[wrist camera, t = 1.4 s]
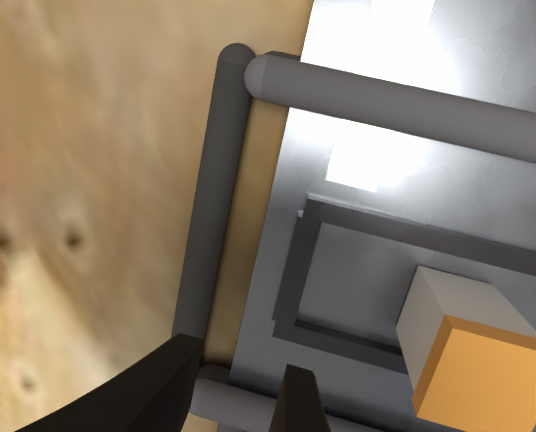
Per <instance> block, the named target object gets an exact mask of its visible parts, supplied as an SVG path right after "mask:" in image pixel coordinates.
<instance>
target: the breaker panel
mask: <svg viewBox="0 0 536 432" xmlns="http://www.w3.org/2000/svg"><path fill="white" fill-rule="evenodd" d="M301 62H306V63H311V64H315V65H320V66H324V67H329V68H333V69H338V70H343V71H347V72H352V73H356V74H361V75H365V76H370V77H375V78H379V79H384V80H388V81H393V82H397V83H402V84H407V85H411V86H416V87H420V88H425V89H429V90H434V91H439V92H443V93H448V94H452V95H457V96H461V97H466V98H471V99H475V100H480V101H484V102H489V103H494V104H498V105H503V106H507V107H512V108H516V109H521V110H526V111H530V112H535V113H536V0H314V4H313V8H312V12H311V17H310V21H309V26H308V30H307V35H306V39H305V43H304V48H303V52H302V57H301ZM418 265H419V266H423V267H427V268H431V269H434V270H438V271H442V272H446V273H450V274H454V275H458V276H462V277H465V278H469V279H473V280H477V281H481V282H485V283H489V284H493V285H494V286H495V287H496V288H497V289H498V290H499V291H500V292H501V293H502V295H503V296H504V297H505V298H506V299H507V300H508V301H509V302H510V303H511V304H512V305H513V307H514V308H515V309H516V310H517V311H518V312H519V313H520V314H521V315H522V316H523V317H524V319H525V320H526V321H527V322H528V323H529V324H530V325H531V326H532V327H533V328H534V329H535V331H536V163H531V162H527V161H523V160H518V159H514V158H510V157H505V156H501V155H496V154H492V153H488V152H483V151H479V150H475V149H470V148H466V147H462V146H457V145H453V144H449V143H444V142H440V141H435V140H431V139H427V138H422V137H418V136H414V135H409V134H405V133H401V132H396V131H392V130H388V129H383V128H379V127H374V126H370V125H366V124H361V123H357V122H353V121H348V120H344V119H340V118H335V117H331V116H327V115H322V114H318V113H313V112H309V111H305V110H300V109H296V108H292V107H290V110H289V114H288V119H287V123H286V128H285V132H284V136H283V141H282V145H281V150H280V154H279V159H278V163H277V167H276V172H275V176H274V181H273V185H272V190H271V194H270V198H269V203H268V207H267V212H266V216H265V221H264V225H263V230H262V234H261V238H260V243H259V247H258V252H257V256H256V261H255V265H254V269H253V274H252V278H251V283H250V287H249V292H248V296H247V300H246V305H245V309H244V314H243V318H242V323H241V327H240V331H239V336H238V340H237V345H236V349H235V354H234V358H233V362H232V367H231V371H230V376H229V380H228V385H229V386H232V387H236V388H239V389H243V390H246V391H249V392H253V393H256V394H259V395H263V396H266V397H269V398H273V399H276V400H277V398H278V395H279V391H280V387H281V384H282V380H283V377H284V373H285V369H286V366H287V364H290V365H294V366H297V367H301V368H304V369H308V370H311V371H313V373H314V375H315V376H316V381H317V386H318V390H319V394H320V398H321V401H322V405H323V408H324V411H325V414H327V415H330V416H333V417H337V418H340V419H344V420H347V421H350V422H354V423H357V424H360V425H364V426H367V427H371V428H374V429H377V430H381V431H384V432H466V431H463V430H459V429H456V428H453V427H449V426H446V425H442V424H439V423H435V422H432V421H429V420H425V419H422V418H418V417H416V413H415V410H414V406H413V402H412V396H413V394H414V390H413V387H412V383H411V380H410V376H409V373H408V370H407V366H406V363H405V359H404V356H403V352H402V349H401V346H400V342H399V339H398V335H397V332H396V326H397V323H398V320H399V317H400V315H401V312H402V309H403V306H404V304H405V301H406V298H407V295H408V292H409V290H410V287H411V284H412V281H413V278H414V276H415V273H416V270H417V267H418ZM217 432H249V431H245V430H242V429H239V428H236V427H232V426H229V425H226V424H222V423H219V424H218V429H217ZM532 432H536V424H535V426H534V428H533V430H532Z"/></svg>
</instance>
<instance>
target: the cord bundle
mask: <svg viewBox="0 0 536 432" xmlns="http://www.w3.org/2000/svg"><path fill="white" fill-rule="evenodd" d="M252 96H253V97H255V98H256V99H258V100H261V101H266V102H270V103H274V104H279V105H283V106H287V107H292V108H296V109H300V110H305V111H309V112H313V113H318V114H322V115H327V116H331V117H335V118H340V119H344V120H348V121H353V122H357V123H361V124H366V125H370V126H374V127H379V128H383V129H388V130H392V131H396V132H401V133H405V134H409V135H414V136H418V137H422V138H427V139H431V140H435V141H440V142H444V143H449V144H453V145H457V146H462V147H466V148H470V149H475V150H479V151H483V152H488V153H492V154H496V155H501V156H505V157H510V158H514V159H518V160H523V161H527V162H531V163H536V113H535V112H530V111H526V110H521V109H516V108H512V107H507V106H503V105H498V104H494V103H489V102H484V101H480V100H475V99H471V98H466V97H461V96H457V95H452V94H448V93H443V92H439V91H434V90H429V89H425V88H420V87H416V86H411V85H407V84H402V83H397V82H393V81H388V80H384V79H379V78H375V77H370V76H365V75H361V74H356V73H352V72H347V71H343V70H338V69H333V68H329V67H324V66H320V65H315V64H311V63H306V62H301V57H300V56H296V55H291V54H287V53H282V52H276V51H271V52H267V53H265V54H263V55H260V56H257V57H256V56H255V54H254V52H253V51H252V50H251V49H250V48H249V47H248V46H246V45H244V44H240V43H233V44H230V45H228V46H226V47H225V48H224V49H223V50H222V51H221V53H220V55H219V58H218V61H217V67H216V73H215V79H214V85H213V91H212V97H211V103H210V109H209V115H208V121H207V127H206V133H205V139H204V145H203V151H202V157H201V163H200V169H199V175H198V181H197V186H196V192H195V198H194V204H193V210H192V216H191V222H190V228H189V234H188V240H187V246H186V252H185V258H184V264H183V270H182V276H181V282H180V288H179V294H178V300H177V306H176V312H175V318H174V324H173V330H172V335H171V338H172V337H173V336H175V335H177V334H179V333H183V334H186V335H190V336H193V337H196V338H200V339H203V340H204V337H205V332H206V327H207V322H208V317H209V312H210V307H211V302H212V297H213V291H214V286H215V281H216V276H217V271H218V266H219V261H220V256H221V251H222V246H223V241H224V235H225V230H226V225H227V220H228V215H229V210H230V205H231V200H232V195H233V190H234V185H235V179H236V174H237V169H238V164H239V159H240V154H241V149H242V144H243V139H244V134H245V129H246V124H247V118H248V113H249V108H250V103H251V98H252ZM203 342H204V341H203ZM202 347H203V346H202ZM201 352H202V351H201ZM200 358H201V356H200ZM199 363H200V361H199ZM198 368H199V366H198Z"/></svg>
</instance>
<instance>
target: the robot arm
mask: <svg viewBox="0 0 536 432" xmlns="http://www.w3.org/2000/svg"><path fill="white" fill-rule="evenodd" d="M203 341H204V340H203V339H200V338H196V337H193V336H190V335H186V334H183V333H179V334H177V335H175V336H173V337H172V338H171V339H169V340H168V341H166V342H165V343H164V344H162V345H161V346H160V347H158V348H157V349H155V350H154V351H153V352H151V353H150V354H148V355H147V356H145V357H144V358H142V359H141V360H140V361H138V362H137V363H135V364H134V365H132V366H130V367H129V368H127V369H126V370H124V371H123V372H121V373H120V374H118V375H117V376H115V377H114V378H112V379H111V380H109V381H107V382H106V383H104V384H102V385H101V386H99V387H97V388H96V389H94V390H92V391H90V392H89V393H87V394H85V395H84V396H82V397H80V398H78V399H77V400H75V401H73V402H72V403H70V404H68V405H66V406H64V407H62V408H61V409H59V410H57V411H55V412H53V413H51V414H49V415H47V416H45V417H43V418H41V419H39V420H37V421H35V422H33V423H31V424H29V425H27V426H25V427H23V428H21V429H19V430H17V431H15V432H181V430H182V427H183V425H184V422H185V420H186V417H187V415H188V412H189V410H190V407H191V402H192V397H193V392H194V387H195V382H196V377H197V372H198V366H199V361H200V356H201V351H202V346H203ZM268 432H331V430H330V427H329V424H328V421H327V418H326V415H325V411H324V408H323V405H322V401H321V398H320V394H319V390H318V386H317V381H316V376H315V375H314V373H313V371H311V370H308V369H304V368H301V367H297V366H294V365H290V364H287V366H286V369H285V373H284V377H283V380H282V384H281V387H280V391H279V395H278V398H277V402H276V406H275V409H274V413H273V417H272V420H271V424H270V428H269V431H268Z"/></svg>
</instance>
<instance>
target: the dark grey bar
mask: <svg viewBox="0 0 536 432" xmlns="http://www.w3.org/2000/svg"><path fill="white" fill-rule="evenodd" d="M230 371H231V369H228V368H225V367H221V366H218V365H214V364H207V365H204V366H202V367H201V368H199V369H198V372H197V377H196V382H195V387H194V392H193V397H192V402H191V407H190V410H189V412H190V413H192V414H194V415H196V416H200V417H203V418H206V419H209V420H213V421H216V422H219V423H222V424H226V425H229V426H232V427H236V428H239V429H242V430H245V431H249V432H268V431H269V428H270V424H271V420H272V417H273V413H274V409H275V406H276V402H277V400H276V399H273V398H269V397H266V396H263V395H259V394H256V393H253V392H249V391H246V390H243V389H239V388H236V387H232V386H229V385H228V380H229V376H230ZM325 415H326V418H327V421H328V424H329V427H330V430H331V432H384V431H381V430H377V429H374V428H371V427H367V426H364V425H360V424H357V423H354V422H350V421H347V420H344V419H340V418H337V417H333V416H330V415H327V414H325Z"/></svg>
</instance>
